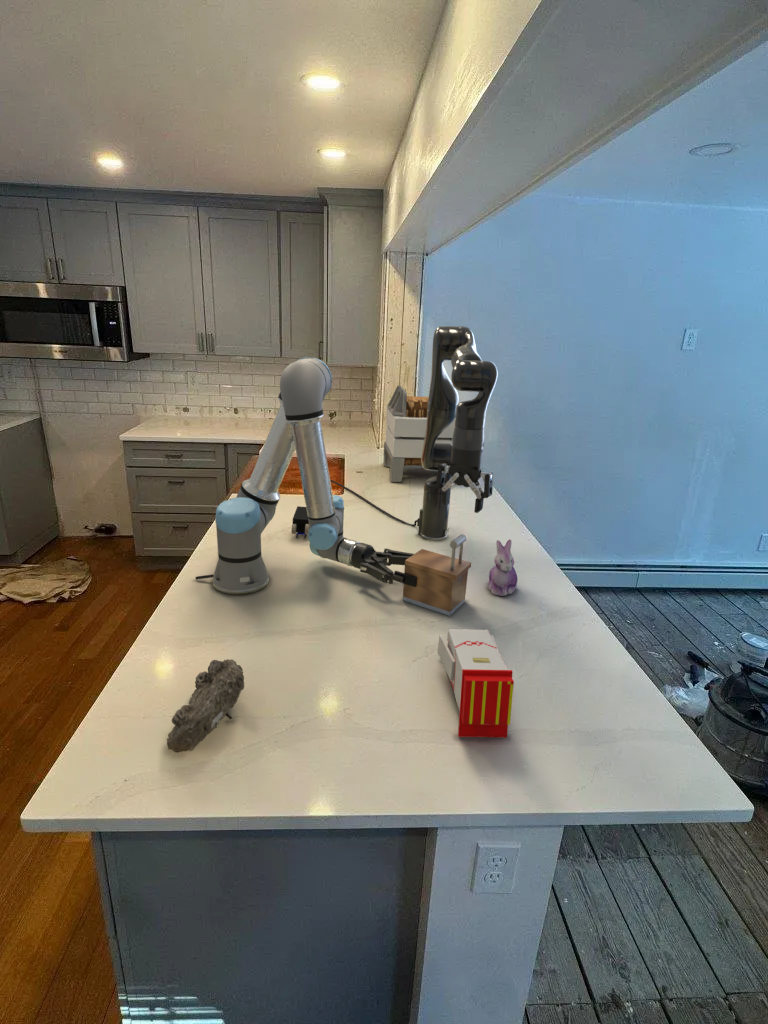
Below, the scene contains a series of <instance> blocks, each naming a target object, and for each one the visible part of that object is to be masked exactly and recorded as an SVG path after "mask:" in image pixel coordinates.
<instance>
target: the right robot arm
mask: <svg viewBox="0 0 768 1024" xmlns="http://www.w3.org/2000/svg"><path fill="white" fill-rule="evenodd" d="M432 337H433V338H432V353H431V374H430V375H431V377H430V385H429V392H428V397H429V398H428V407H427V422H426V432H425V438H424V444H423V449H422V457H421V462H422V466H421V467H422V468H423V470H426V471H435V472H436V471H437V473H436V475H435V476H432V477H429V478H427V479H425V480H424V482H423V493H422V496H423V497H422V506H421V508H420V509H419V516H418V518H417V519H416V520H415V521H414V523H413V524H411V523H408V522H407V521H404V520H402V519H400V518H398V517H396V516H394V515H392V514H391V513H389V512H387V511H385V510H384V509H382V508H380V507H379V506H377V505H376V504H374V503H372V502H371V501H369V500H368V499H366V498H365V497H364V496H362V495H360V494H358V493H357V492H356V491H353V490H352V489H350V488H349V487H347V486H345V485H343V484H341V483H339V482H338V481H337V482H336V481H334V480H333V479H330V482H331V483H333V484H335V485H337V486H339V487H341V488H343V489H345V490H347V491H349V492H350V493H352V494H353V495H355V496H357V497H358V498H360V499H362V500H363V501H365V502H366V503H367V504H369V505H371V506H372V507H374V508H375V509H377V510H378V511H380V512H381V513H383V514H385V515H387V516H388V517H390V518H392V519H394V520H395V521H398V522H400V523H402V524H404V525H408V526H411V527H416V526H417V527H418V530H417V535H418V536H420V538H421V539H424V540H426V541H432V542H440V541H444V540H446V539H447V538H448V533H449V532H450V531H449V530H450V527H448V525H449V517H450V516H449V514H450V504H451V494H452V493H451V491H452V487H453V486H454V485H456V486H460V487H461V486H463V487H465V488H470V490H471V491H472V493H474V495H475V497H476V498H475V500H474V501H475V502H474V510H473V511H474V513H475V514H478V513H480V512H481V511H482V510H483V508H484V500H485V499H488V498H489V497H491V496H492V495H493V484H494V473H493V472H491V471H489V472H483V471H482V464H483V463H482V461H483V453H484V446H485V423H486V414H487V408H488V405H489V402H490V399H491V396H492V394H493V392H494V389H495V387H496V383H497V380H498V376H499V375H498V374H499V373H498V372H499V371H498V368H497V366H496V364H495V363H494V362H493V361H489V360H482V358H481V356H480V355H479V353H478V352H477V345H476V341H475V336H474V333H473V331H472V329H471V328H470V327H468V326H462V325H461V326H460V325H459V326H457V325H442V326H438V327H436V328H435V330H434V333H433V336H432ZM445 361H450V363H451V367H452V370H451V375H450V376H451V377H449V375H448V373H447V370H446V369H445V366H444V362H445ZM458 391H460V392H470V393H471V392H472V393H473V392H475V393H478V394H477V395H475V397H474V398H472V399H468V400H463V401H459V400H460V399H459V398H460V396H459V393H458ZM458 402H459V403H458ZM454 419H455V428H454V432H453V440H452V444H447V443H435V441H436V439H437V438H438V436H439V435H440V434H441V433H442V432H443V431H444V430H445V429H446V428H447V427H448V426H449V425H450V424H451V423H452V422H453V420H454ZM479 479H482V481H483V482H484V483H483V486H482V484H481V481H480V480H479Z"/></svg>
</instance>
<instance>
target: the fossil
mask: <svg viewBox="0 0 768 1024" xmlns="http://www.w3.org/2000/svg"><path fill="white" fill-rule="evenodd" d="M243 670H244V669H243V667H242V665H240V664H237V662H236V661H235V660H234V659H232V658H231V659H227V658H226V659H224V660H223V661H222V660H217V659H212V660H211V661H210V663H209V665H208V666H207V671H201V672H199V673H198V674H197V675H196V676H195V680H194V684H195V685H194V687H195V689H194V690H193V693H192V694H191V697H190V698H189V700H188V704H184V705H182V706H181V707H180V709H177V710H176V711H175V713H174V715H173V716H172V718H171V723H172V724H173V727H172V730H171V731H170V732H168V734H167V738H166V741H167V742H166V745H167V749H168V750H169V751H173V752H174V753H176V754H178V753H182V752H188V751H189V752H192V751H193V750H195V748H196V747H197V746H199V744H200V743H201V742H203V741H204V740H205V739H206V738H207V737H208V736H209V735H210V734H211V733H212V732H214V730H215V729H217V727H218V726H219V724H220V722H221V721H222V720H223V719H224V718H225V716H226V717H227V719H229V720H233V717H232V715H230V714H229V710H230V709H231V708H234V706H235V704H236V703H237V702H238V699H239V697H240V695H241V693H242V691H243V690H245V689H244V688H245V675H244V671H243Z"/></svg>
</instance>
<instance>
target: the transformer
mask: <svg viewBox="0 0 768 1024" xmlns="http://www.w3.org/2000/svg"><path fill="white" fill-rule="evenodd" d="M407 394H408V393H407V390H406V389H404V388H403V387H402V385H399V384H398V385H397V386H396V388H395V390H394V392H393V394H392V395H391V398H390V400H389V402H388V404H387V405H386V413H385V414H386V415H385V423H386V428H385V438H384V442H383V466H384V467H388V468H389V475H388V476H389V477H388V478H389V480H390V482H391V483H402V482H403V475H404V469H405V466H406V467H407V466H411V467H412V466H413V467H415V466H416V467H417V466H418V467H422V462H421V457H422V449H423V444H424V438H425V432H426V422H427V407H428V398H429V396H415V395H414V396H413V395H412V396H411V395H407ZM458 403H460V401H458ZM454 428H455V419H454V420H453V422H452V423H451V424H450V425H449V426H448V427H447V428H446V429H445V430H444V431H443V432H442V433H441V434H440V435H439V436H438V438H437V439H436V441H435V443H447V444H452V440H453V432H454Z"/></svg>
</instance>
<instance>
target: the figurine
mask: <svg viewBox="0 0 768 1024" xmlns="http://www.w3.org/2000/svg"><path fill="white" fill-rule="evenodd" d="M495 544H496V554H495V555H496V556H495V558H494V566H492V568H490V570H489V573H488V581H487V582H488V583H487V588H488V589H489V591H491V593H492V594H493V595H495V596H500V597H505V596H508V595H512V594H513V593H514V592H515V590H516V587H517V584H518V574H517V571H516V568H515V567H514V565H515V559H514V556H513V553H512V544H513V543H512V539H510V538H509V539H508V540H507V541H506V543H505V544H504V546H503V544H502V542H501V541H500V540H496V542H495Z"/></svg>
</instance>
